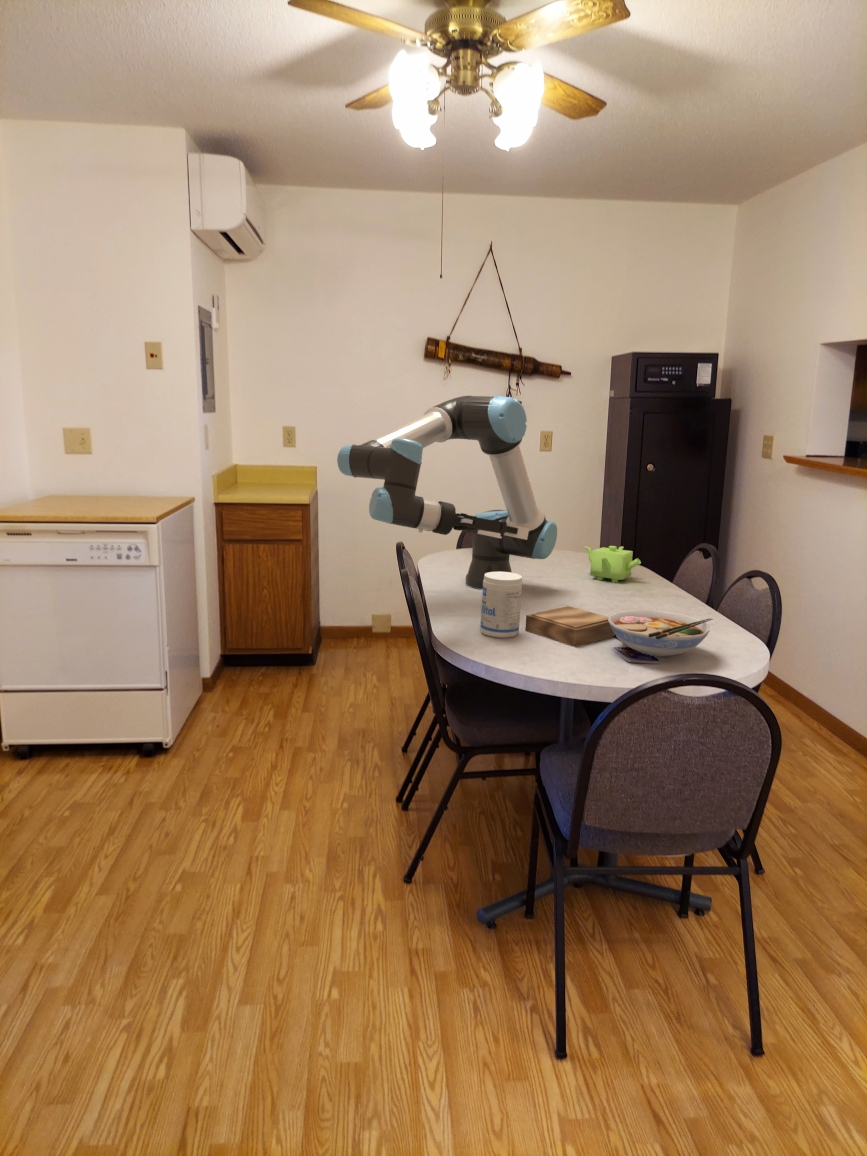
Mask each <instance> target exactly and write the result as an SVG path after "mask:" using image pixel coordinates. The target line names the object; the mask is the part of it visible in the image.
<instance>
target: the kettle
mask: <svg viewBox="0 0 867 1156" xmlns="http://www.w3.org/2000/svg"><path fill="white" fill-rule="evenodd" d="M582 547H583V548H584V549H585V550H586V551H587V553H588V560H589V562H590V573H589V576H593V577H596V579H595V580H596V581H603V580H604V578H606V579H611V583H613V582H614V583H613V584H619V583H618V582H619V580H620V581H625V579H626V578H629V577H630V576H631V575H632V569H633V568H635V567H638V566H639V565H640V564H641V563H642V562H641V560H640V559H639V558H635V559H634V560H633V554H634V553H633V552H634V551H633V550H626V549H624V545H623V546H619V547H617V546H616V545H609V546H608V547H600V548H597V549H593V550H592V548H591V547H590V546H586V545H585V546H582Z"/></svg>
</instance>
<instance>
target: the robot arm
mask: <svg viewBox="0 0 867 1156" xmlns="http://www.w3.org/2000/svg"><path fill="white" fill-rule="evenodd" d="M527 422H528V420H527V415H526V411H525V408H524V406H523V404H522V403H521V402H520V401H519V400H518V399H516V398H514V397H510V396H504V395H495V396H487V395H486V396H485V395H484V396H483V395H461V396H458V397H454V398H451V399H448V400H446V401H443V402H441V403H439V404H436V405H434V406H432V407H429V408H428V409H426V410H425V411H424V413H423V415H422V416H420V417H418V418H416V419H413V420H411V421H409V422H407V423H404V424H403V425H401V426H399V427H396V428H395V429H392V430H390V431H388V432H386V433H384V434H382V435H380V436H378V437H375V438H373V439H371V440H368V441H366V442H364V443H362V444H347V445H344V446H342V447H341V448H340V450H339V451H338V453H337V459H336V461H337V462H336V463H337V467H338V470H339V471H340V473H341V474H343V475H344V476H348V477H353V478H363V479H373V480H384V482H383V485H382V486H383V487H376V488H375V489H374V490H373V491H372V493H371V497H370V500H369V504H368V505H369V506H368V511H369V516H370V518H371V519H373V520H375V521H378V522H382V523H386V524H388V525H389V524H391V525H396V526H401V527H405V528H406V527H407V528H409V529H417V530H418V531H417V532H418V533H422V532H423V531H425V532H432V533H433V534H439V535H444V536H447V535H448V534H450V533H451V532H452V530H453V531H462V532H467V533H472V545H471V546H472V547H471V549H472V550H471V555H472V556H471V561H470V565H469V567H468V571H467V573H466V575H465V580H464V581H465V585H466V586H468V587H471V588H474V589H479V590H483V580H484V575H485V574H486V573H488V572H511V573H513V572H512V568H511V567H512V566H511V563H510V555H511V556H515V557H520V558H521V557H522V558H526V559H532V560H535V559H536V560H545V559H547V558H548V557H549V556H550V555H552V552H553V551H554V548H555V546H556V543H557V540H558V539H557V538H558V526H557V524H556V523H555V522H554V521H552V520H547V518H546V516H545V515H546V514H545V511H544V510H542V508H539V507H538V505H537V503H536V500H535V496H534V492H533V489H532V488H533V487H532V486H531V481H530V478H529V476H528V472H527V467H526V465H525V461H524V458H523V455H522V450H521V447H520V446H521V443H522V441H523V438H524V437H525V435H526V431H527V427H528V426H527V424H526V423H527ZM457 439H458V440H468V441H469V440H470V441H471V440H472V441H477V442H478V443H479V447H480V450H481V452H482V453H483V454H484V455H487V456H489V459H490V462H491V463H490V464H491V466H492V469H493V472H494V475H495V478H496V481H497V484H498V487H499V490H500V493H501V497H502V499H503V503H504V507H505V510H493V511H491V510H489V511H482V512H478V513H476V514H475V515H468V514H467V513H464V512H463V513H462V512H460V513H456V511H457V509H456V506H455V505H454V504H453V503H451V502H444V501H439V500H437V499H434V498H428V497H424V496H418V495H416V492H417V487H418V481H419V477H420V472H421V466H422V459H423V451H424V449H425V448H427V447H429V446H430V445H432V444H434V443H445V442H447V441H449V440H457Z"/></svg>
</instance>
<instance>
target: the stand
mask: <svg viewBox="0 0 867 1156" xmlns="http://www.w3.org/2000/svg"><path fill="white" fill-rule="evenodd" d="M608 619H609V616H606V615H602V614H600V613H599V614H598V613H595V612H591V611H588V610H584V609H579V608H576V607H574V606H569V605H567V606H563V607H558V608H554V609H548V610H544V611H540V612H539V611H538V612H535V613H530V614H526V615H525V626H524V628H525V629H524V631H526V632H528V631H529V633H532V634H535V635H538V636H542V637H544V638H547V639H550V640H553V641H556V642H559V643H562V644H566V645H569V646H572V647H578V646H582V645H583V646H584V645H585V644H589V643H594V642H597V641H601V640H604V639H608V637H609V638H612V637H615V633H614V632H613V630H612V628H611V626H610V624H609V621H608Z"/></svg>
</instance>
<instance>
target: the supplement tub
mask: <svg viewBox="0 0 867 1156" xmlns="http://www.w3.org/2000/svg"><path fill="white" fill-rule="evenodd" d="M522 590H523V576H522V575H521V574H519V573H516V572H512V573H511V572H488V573H486V574H485V575H484V580H483V589H482V594H481V598H482V599H481V610H480V611H481V612H480V632H481V633H482V634H483V635H485V636H488V637H492V638H498V639H499V638H500V639H505V638H508V639H509V638H512V637H513V638H514V637H516V636H517V635H518V634H519V631H520V620H521V606H522V592H523V591H522Z"/></svg>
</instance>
